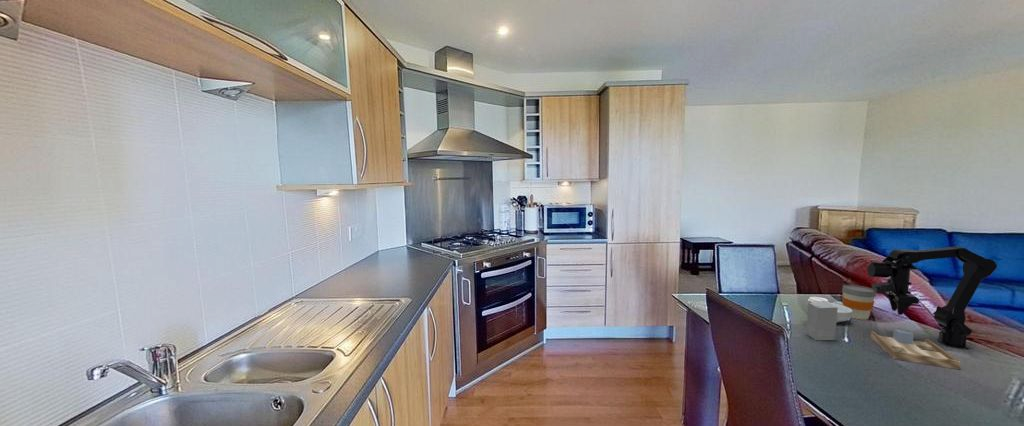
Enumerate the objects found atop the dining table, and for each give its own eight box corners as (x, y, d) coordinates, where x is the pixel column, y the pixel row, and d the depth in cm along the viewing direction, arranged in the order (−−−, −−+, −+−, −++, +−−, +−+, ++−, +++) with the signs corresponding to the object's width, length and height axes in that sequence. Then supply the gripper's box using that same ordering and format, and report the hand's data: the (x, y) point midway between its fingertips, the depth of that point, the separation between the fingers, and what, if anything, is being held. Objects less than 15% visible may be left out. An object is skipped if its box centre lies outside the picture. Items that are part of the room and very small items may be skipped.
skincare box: (824, 334, 163) (826, 301, 162) (836, 341, 156) (839, 307, 155) (804, 334, 164) (806, 301, 163) (816, 341, 157) (818, 306, 156)
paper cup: (831, 330, 168) (833, 301, 167) (815, 330, 168) (817, 301, 167) (817, 323, 176) (819, 296, 175) (802, 323, 176) (803, 296, 175)
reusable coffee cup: (869, 314, 187) (871, 286, 185) (877, 322, 176) (879, 293, 175) (837, 310, 193) (839, 283, 192) (843, 317, 183) (845, 289, 181)
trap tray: (927, 345, 151) (928, 339, 151) (959, 369, 133) (960, 361, 132) (870, 337, 160) (871, 331, 160) (893, 358, 141) (893, 351, 141)
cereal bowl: (860, 327, 171) (861, 313, 170) (820, 325, 174) (821, 311, 174) (836, 314, 187) (837, 301, 187) (800, 312, 191) (801, 299, 190)
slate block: (907, 340, 153) (908, 330, 153) (912, 344, 149) (913, 334, 149) (892, 338, 155) (893, 328, 155) (897, 342, 152) (898, 332, 151)
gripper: (866, 271, 168) (864, 303, 170) (884, 281, 152) (881, 316, 153) (899, 274, 163) (896, 307, 164) (921, 284, 147) (917, 321, 148)
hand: (896, 312), depth 158 cm, fingers open, 5 cm apart
